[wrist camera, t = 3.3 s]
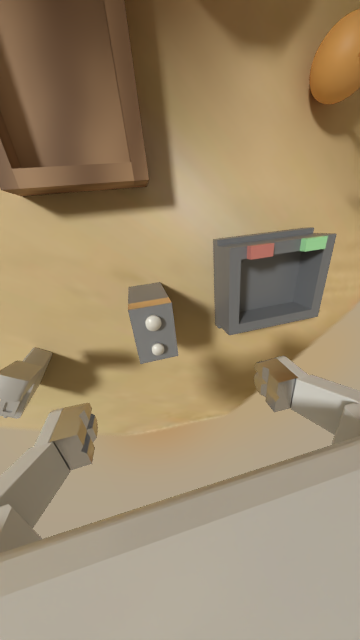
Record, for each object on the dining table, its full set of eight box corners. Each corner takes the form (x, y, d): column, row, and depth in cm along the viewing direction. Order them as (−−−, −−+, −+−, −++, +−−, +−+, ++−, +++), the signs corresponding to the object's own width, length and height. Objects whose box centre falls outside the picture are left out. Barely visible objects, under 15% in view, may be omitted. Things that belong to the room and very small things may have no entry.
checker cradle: (215, 324, 22) (231, 342, 19) (213, 239, 18) (233, 241, 15) (292, 308, 24) (321, 323, 20) (305, 227, 20) (344, 227, 16)
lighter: (39, 383, 21) (-8, 465, 13) (20, 379, 20) (-40, 462, 13) (63, 328, 19) (24, 388, 12) (43, 321, 18) (-12, 380, 11)
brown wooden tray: (21, 196, 14) (1, 190, 12) (-98, -114, 9) (-173, -226, 7) (146, 186, 16) (149, 179, 13) (106, -85, 10) (100, -169, 8)
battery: (137, 329, 21) (140, 367, 15) (128, 287, 19) (128, 312, 13) (166, 323, 21) (179, 358, 15) (160, 282, 19) (172, 304, 13)
